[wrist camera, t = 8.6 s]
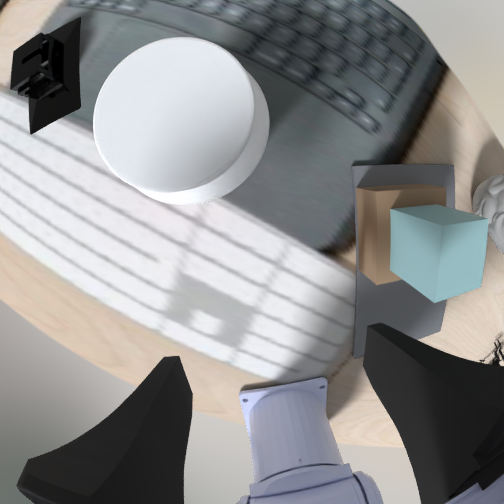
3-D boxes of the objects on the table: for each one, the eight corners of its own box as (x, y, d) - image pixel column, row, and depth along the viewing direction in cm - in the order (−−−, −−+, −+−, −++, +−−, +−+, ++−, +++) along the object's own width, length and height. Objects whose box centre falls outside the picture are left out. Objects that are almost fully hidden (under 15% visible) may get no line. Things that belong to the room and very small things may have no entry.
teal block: (434, 260, 17) (480, 286, 12) (389, 270, 17) (434, 303, 12) (436, 204, 15) (488, 218, 11) (390, 208, 15) (441, 225, 11)
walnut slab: (421, 257, 20) (442, 269, 17) (358, 269, 20) (376, 285, 17) (421, 183, 18) (446, 187, 15) (355, 187, 18) (376, 191, 15)
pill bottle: (198, 83, 16) (159, -10, 5) (274, 133, 17) (330, 85, 6) (143, 158, 17) (41, 151, 6) (218, 209, 18) (196, 263, 8)
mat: (438, 329, 23) (440, 331, 22) (352, 356, 22) (354, 358, 22) (450, 164, 18) (453, 164, 18) (351, 166, 18) (353, 166, 17)
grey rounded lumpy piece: (450, 234, 20) (506, 257, 13) (464, 158, 18) (522, 164, 11) (484, 245, 21) (533, 267, 14) (497, 179, 19) (548, 189, 12)
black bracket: (95, 124, 16) (62, 116, 12) (28, 156, 16) (-8, 158, 12) (92, 4, 13) (69, -19, 8) (28, 40, 13) (1, 27, 8)
